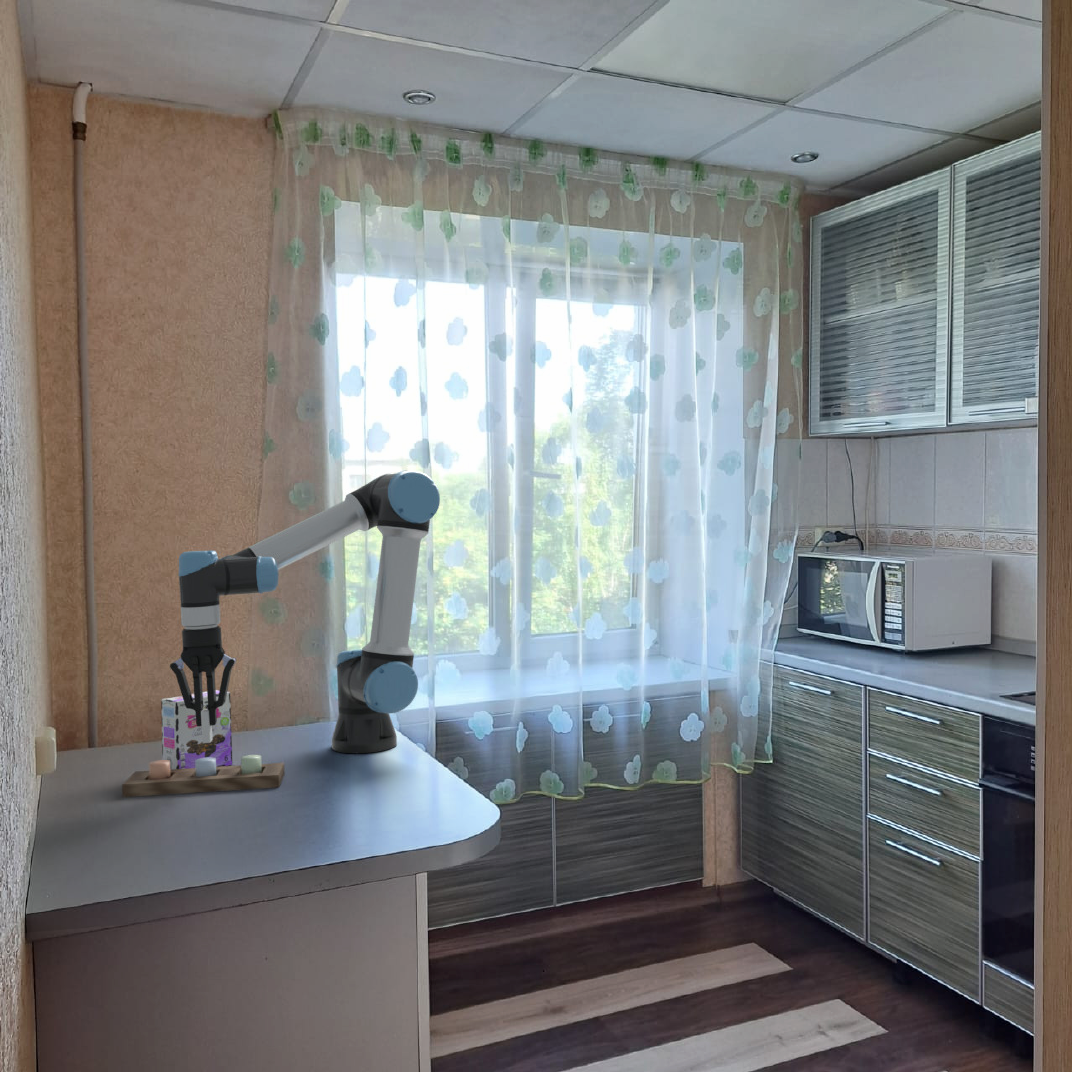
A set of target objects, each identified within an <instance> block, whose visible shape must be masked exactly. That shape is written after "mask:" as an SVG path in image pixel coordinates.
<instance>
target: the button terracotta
mask: <svg viewBox="0 0 1072 1072" xmlns="http://www.w3.org/2000/svg"><path fill="white" fill-rule="evenodd" d="M148 771H149V779H150V780H152V779H168V778H171V774H170V761H169V760H163V759H159V760H153V761H150V762H149V763H148Z"/></svg>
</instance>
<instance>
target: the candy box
mask: <svg viewBox="0 0 1072 1072" xmlns="http://www.w3.org/2000/svg"><path fill="white" fill-rule="evenodd" d="M219 691H220V689H219V690H218V689H216V701H217V700H218V696H219ZM191 695H192V698H193V701H194V693H191ZM160 702H161V703H160V705H161V706H160V707H161V745H162V746H161V748H162V751H161V752H162V756H161V757H162V758H161V760H169V761H170V769H187V768H195V760H197V759H200V758H206V757H213V758H216V767H221V766H233V742H232V741H233V739H232V738H233V736H232V711H231V709H232V707H231V703H232V702H231V692H230V691H227V695H226V700H225V703H224V704H223V705H222V706H220V707H218V708H217V709H216V715H217V722H216V724H215V725H212V738H213V740H212V741H211V742H210V743H203V742H202V726H198V727H197V725H196V712H195V710H193V709H188V708H186V706H185V703H184V700H183V697H182V695H180V696H174V697H170V698H169V697H167V698H161V700H160ZM194 702H195V701H194ZM203 705H204V707H203V709H208V696H207V691H203Z"/></svg>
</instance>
